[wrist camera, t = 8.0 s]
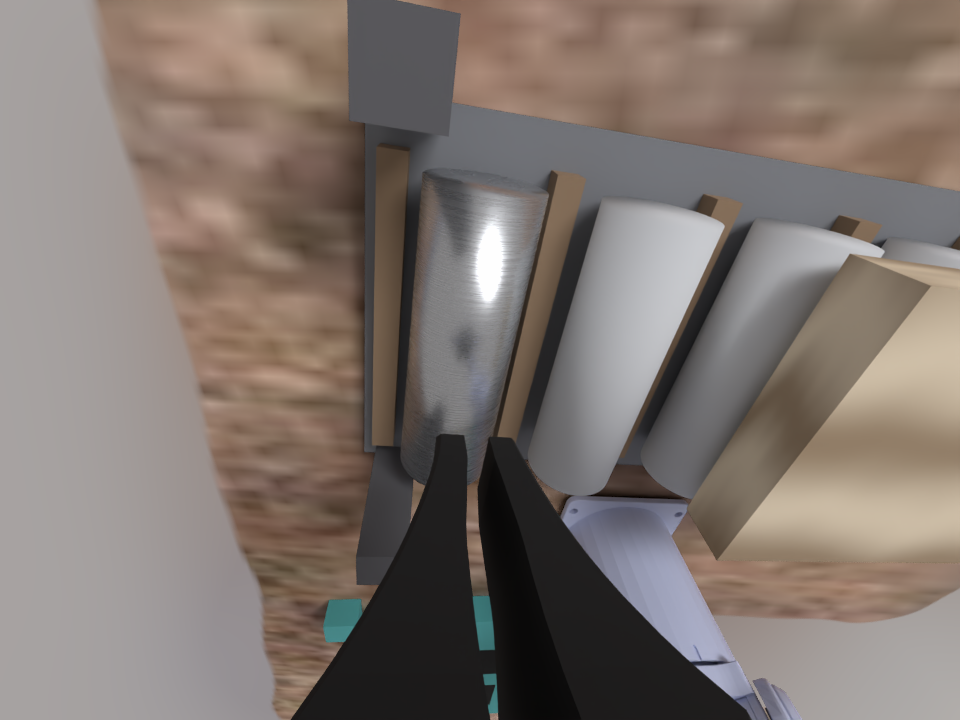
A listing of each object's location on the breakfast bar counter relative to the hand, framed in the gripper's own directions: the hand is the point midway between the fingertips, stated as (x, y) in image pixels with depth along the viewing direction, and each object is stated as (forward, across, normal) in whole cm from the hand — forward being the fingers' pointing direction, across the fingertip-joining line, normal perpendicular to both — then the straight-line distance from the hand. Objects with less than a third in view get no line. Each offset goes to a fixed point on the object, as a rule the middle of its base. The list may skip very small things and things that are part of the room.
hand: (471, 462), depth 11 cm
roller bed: (+8, -10, 0) cm, 13 cm away
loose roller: (+8, 0, 0) cm, 8 cm away
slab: (+3, -17, 0) cm, 17 cm away
